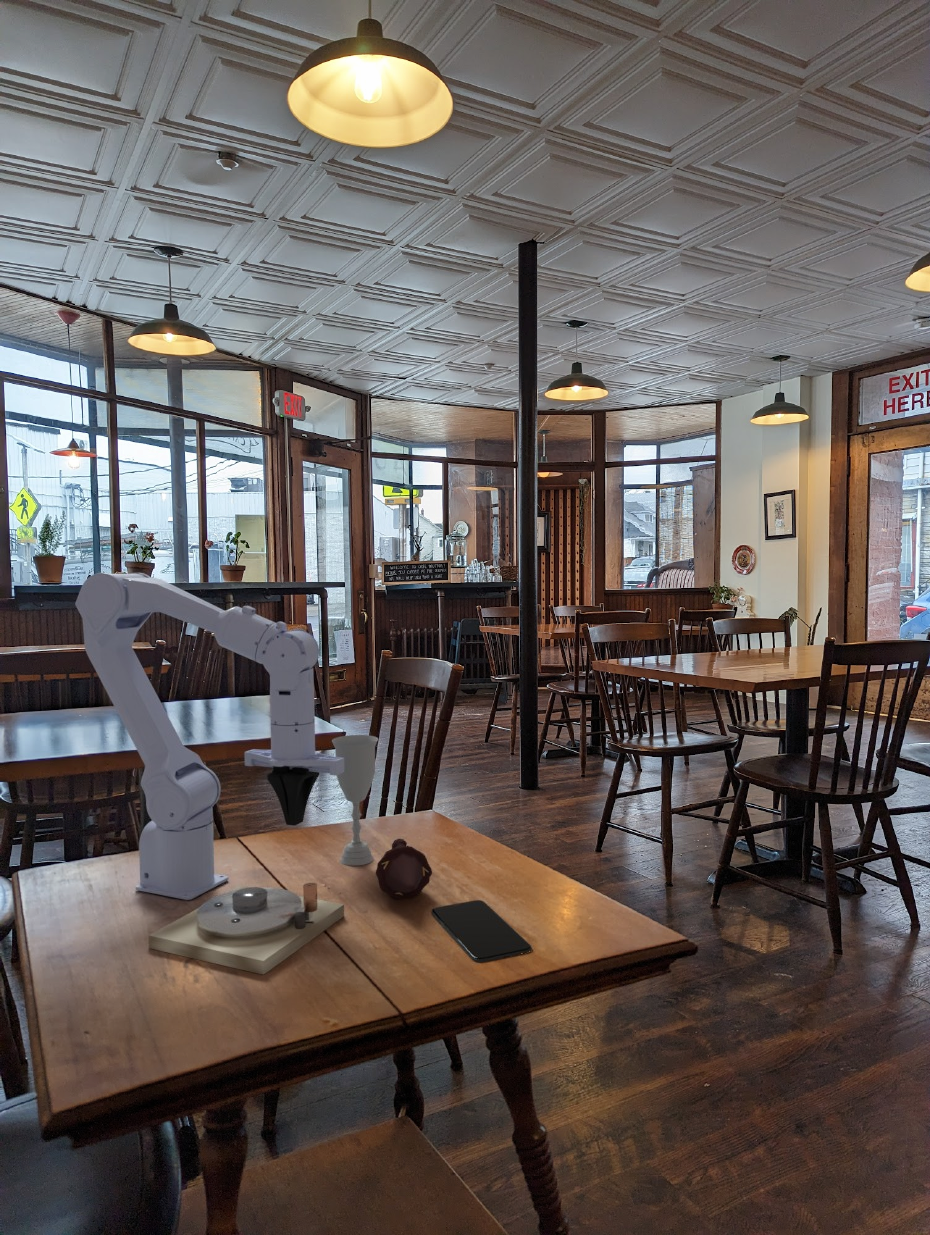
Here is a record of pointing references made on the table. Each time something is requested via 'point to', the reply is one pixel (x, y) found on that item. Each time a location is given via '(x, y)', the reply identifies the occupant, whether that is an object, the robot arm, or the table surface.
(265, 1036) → the table surface
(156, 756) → the robot arm
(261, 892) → the grey turntable
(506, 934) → the smartphone
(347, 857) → the chalice
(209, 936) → the post base
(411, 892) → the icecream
